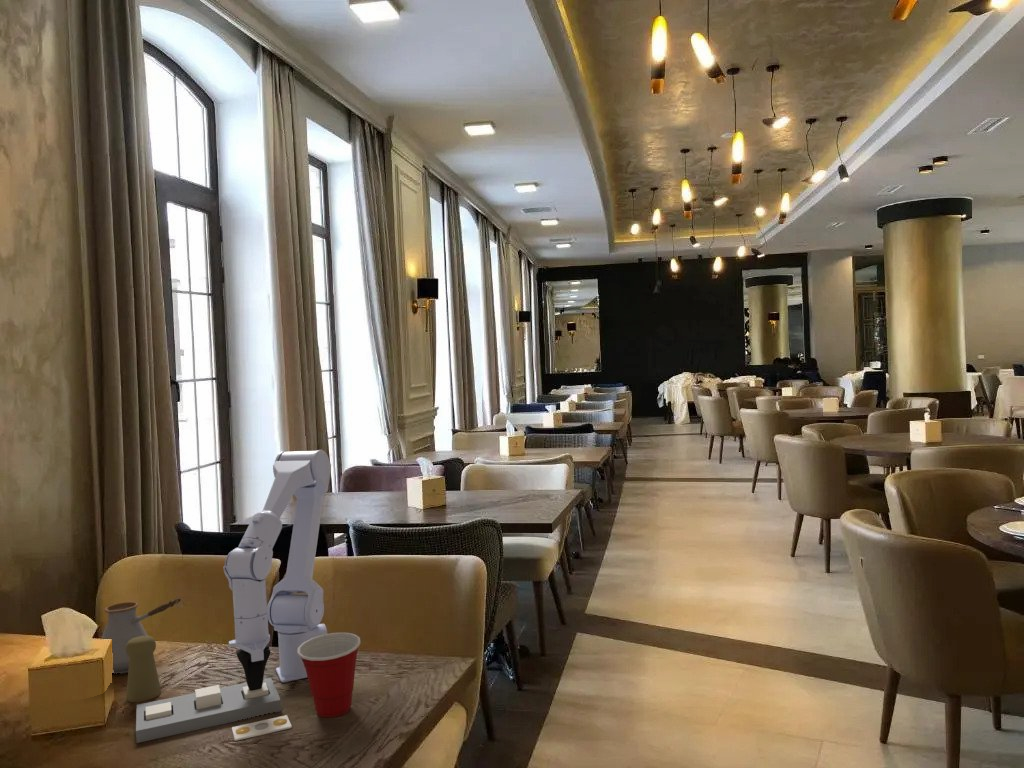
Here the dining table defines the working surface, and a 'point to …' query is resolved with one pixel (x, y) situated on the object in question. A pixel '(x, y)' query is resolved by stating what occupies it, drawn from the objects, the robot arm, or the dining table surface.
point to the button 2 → (255, 692)
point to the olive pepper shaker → (142, 670)
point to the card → (261, 727)
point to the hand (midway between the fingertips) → (255, 689)
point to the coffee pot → (126, 629)
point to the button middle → (208, 697)
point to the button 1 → (158, 711)
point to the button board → (205, 712)
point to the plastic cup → (331, 671)
